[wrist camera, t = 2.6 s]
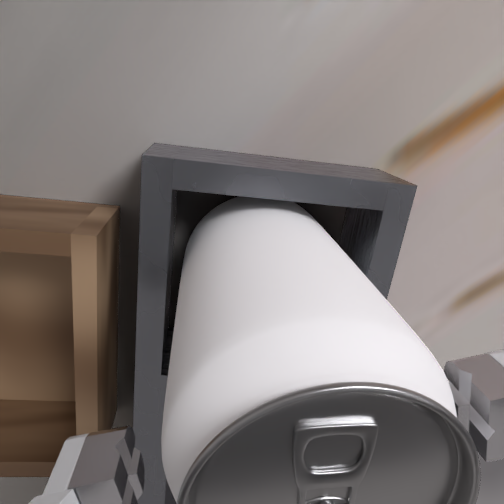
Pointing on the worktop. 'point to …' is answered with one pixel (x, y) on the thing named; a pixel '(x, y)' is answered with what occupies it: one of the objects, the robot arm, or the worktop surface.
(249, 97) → the worktop surface
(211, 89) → the worktop surface
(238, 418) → the can
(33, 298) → the box
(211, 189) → the tray
